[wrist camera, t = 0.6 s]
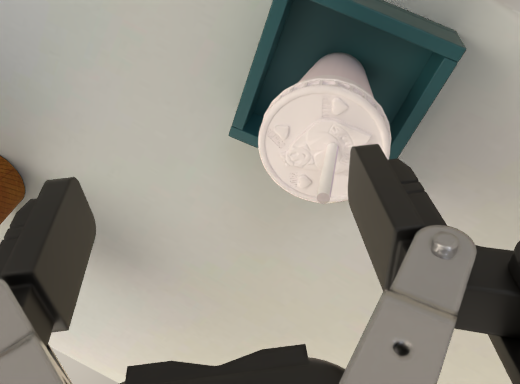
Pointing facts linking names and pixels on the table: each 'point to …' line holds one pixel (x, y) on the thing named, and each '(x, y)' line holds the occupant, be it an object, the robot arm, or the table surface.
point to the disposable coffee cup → (9, 188)
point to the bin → (359, 46)
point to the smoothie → (321, 129)
